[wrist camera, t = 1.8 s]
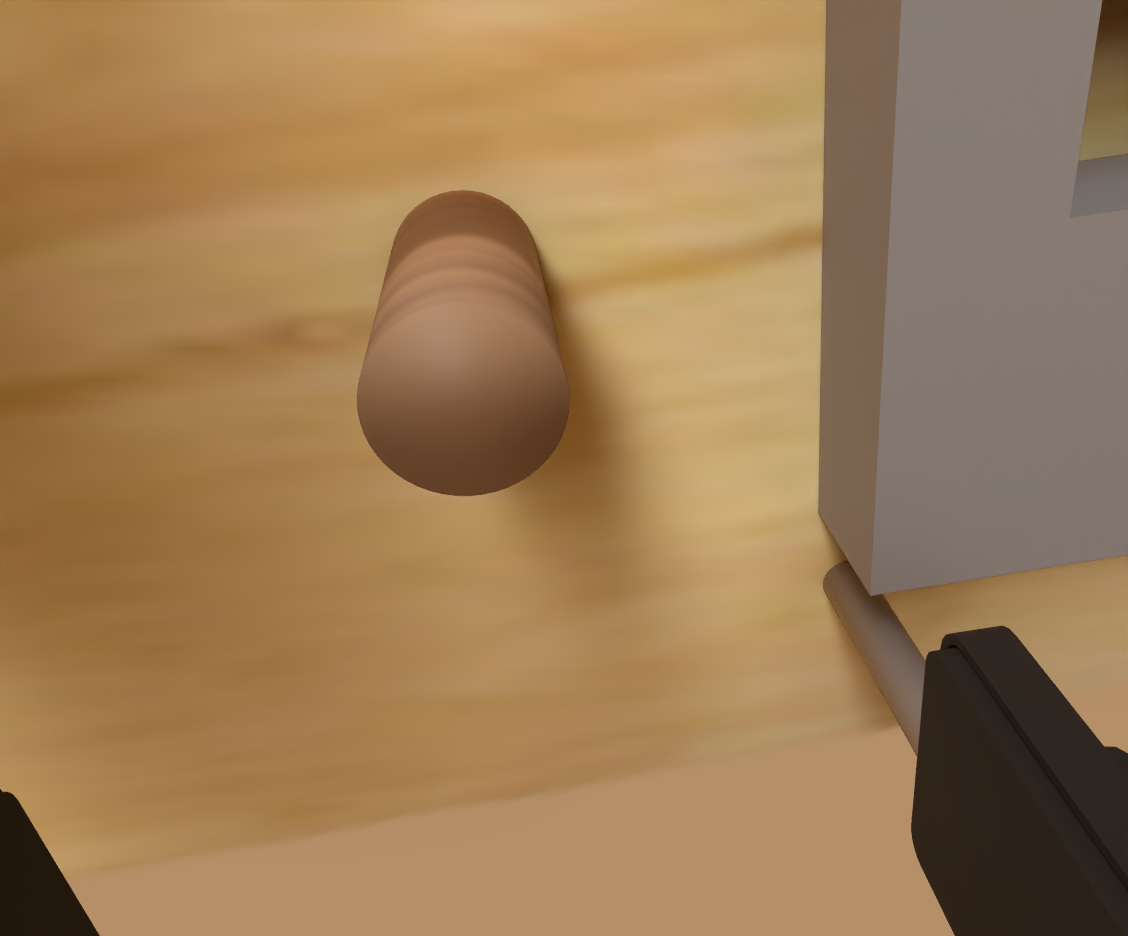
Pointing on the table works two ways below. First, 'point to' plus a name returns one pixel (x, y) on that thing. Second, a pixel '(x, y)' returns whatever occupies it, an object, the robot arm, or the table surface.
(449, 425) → the walnut peg
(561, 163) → the table surface
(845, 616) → the pink topped stand
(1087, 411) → the socket block
